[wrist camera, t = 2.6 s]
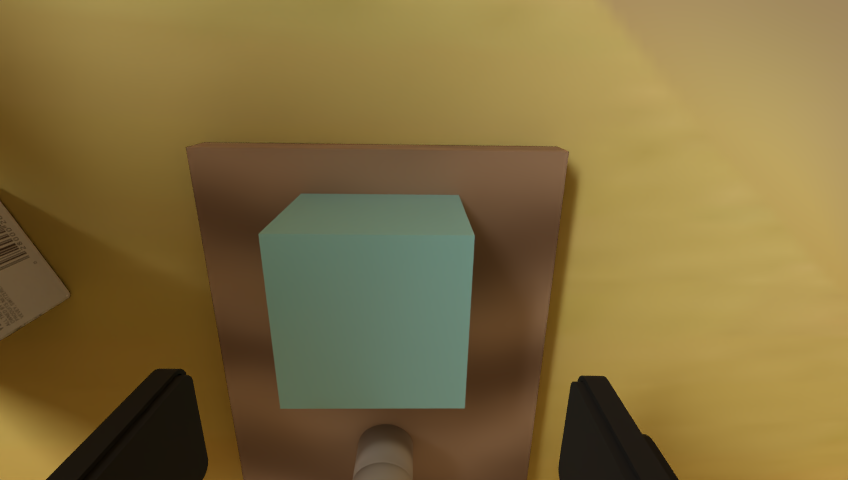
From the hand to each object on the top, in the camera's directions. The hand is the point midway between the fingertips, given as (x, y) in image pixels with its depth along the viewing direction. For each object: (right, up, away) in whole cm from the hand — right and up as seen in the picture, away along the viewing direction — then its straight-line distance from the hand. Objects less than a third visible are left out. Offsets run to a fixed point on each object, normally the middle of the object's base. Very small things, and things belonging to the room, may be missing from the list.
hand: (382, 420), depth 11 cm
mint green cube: (-1, +3, +8) cm, 9 cm away
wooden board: (-1, -1, +11) cm, 11 cm away
